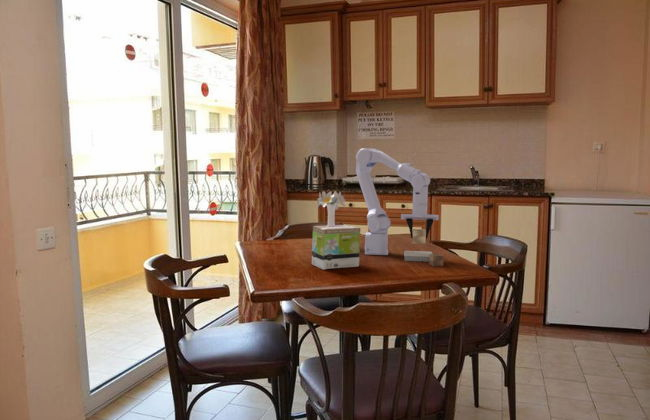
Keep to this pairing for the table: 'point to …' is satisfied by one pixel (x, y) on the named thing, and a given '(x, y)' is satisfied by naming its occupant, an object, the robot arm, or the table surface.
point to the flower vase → (331, 204)
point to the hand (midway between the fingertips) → (418, 237)
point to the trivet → (417, 256)
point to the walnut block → (436, 259)
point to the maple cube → (419, 236)
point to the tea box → (335, 246)
